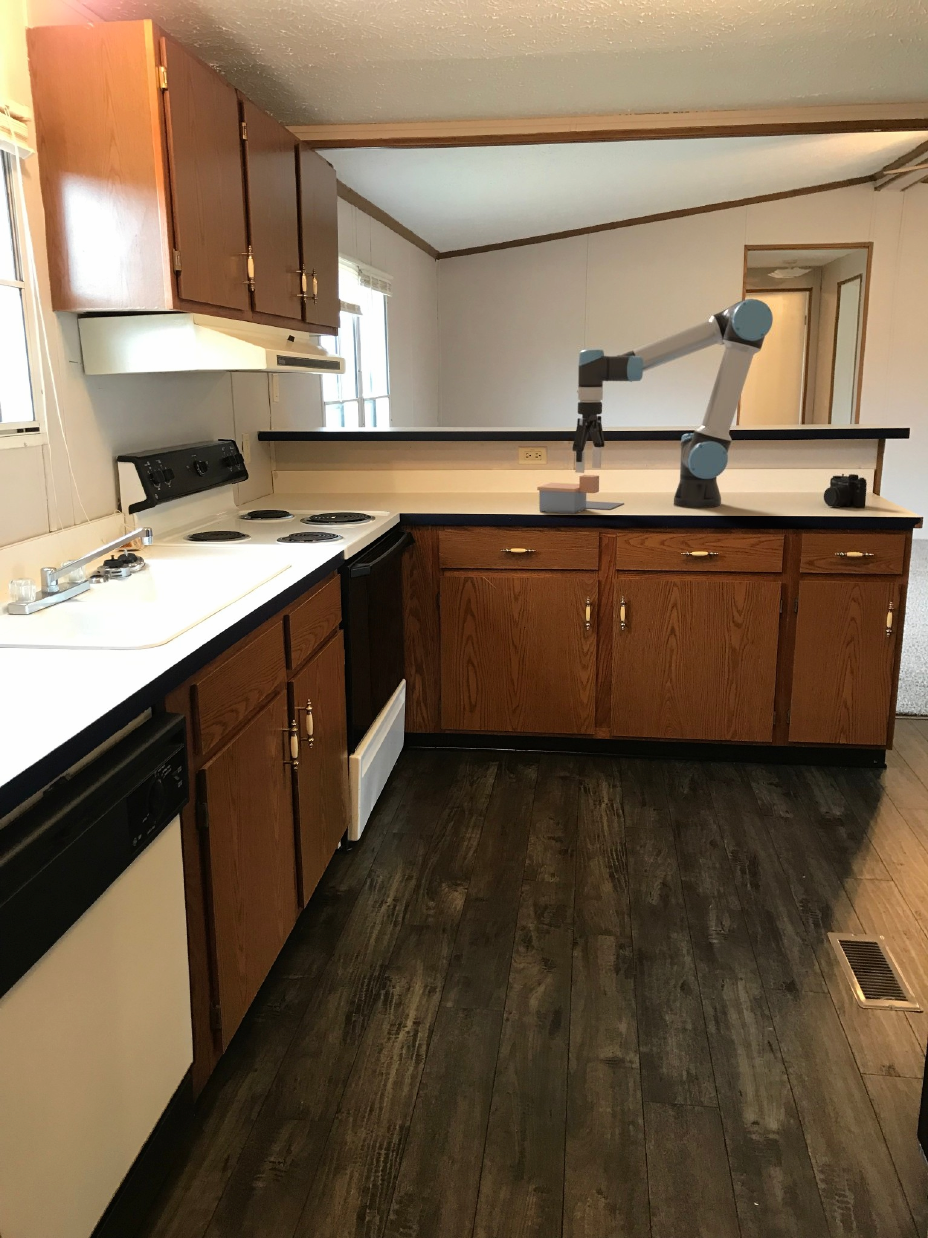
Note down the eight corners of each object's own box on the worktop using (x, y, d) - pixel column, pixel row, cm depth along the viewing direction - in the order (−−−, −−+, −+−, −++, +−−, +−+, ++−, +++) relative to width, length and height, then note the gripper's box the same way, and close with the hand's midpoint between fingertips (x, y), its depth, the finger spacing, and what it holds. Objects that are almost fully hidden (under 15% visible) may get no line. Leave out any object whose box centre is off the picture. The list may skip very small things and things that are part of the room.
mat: (624, 504, 329) (624, 503, 329) (609, 509, 318) (609, 508, 318) (576, 501, 337) (576, 500, 337) (561, 506, 326) (561, 505, 326)
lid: (603, 490, 317) (603, 474, 315) (589, 494, 307) (590, 478, 306) (551, 487, 325) (551, 471, 324) (537, 491, 316) (537, 475, 315)
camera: (811, 504, 320) (813, 473, 318) (838, 502, 324) (840, 471, 321) (841, 510, 308) (843, 478, 305) (868, 507, 311) (871, 476, 309)
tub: (586, 509, 321) (586, 487, 319) (574, 513, 312) (574, 491, 310) (552, 507, 326) (552, 485, 324) (539, 511, 318) (539, 489, 316)
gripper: (593, 398, 318) (592, 465, 324) (562, 402, 297) (561, 473, 303) (616, 399, 314) (613, 466, 320) (585, 403, 293) (584, 475, 299)
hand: (588, 470), depth 311 cm, fingers open, 13 cm apart
